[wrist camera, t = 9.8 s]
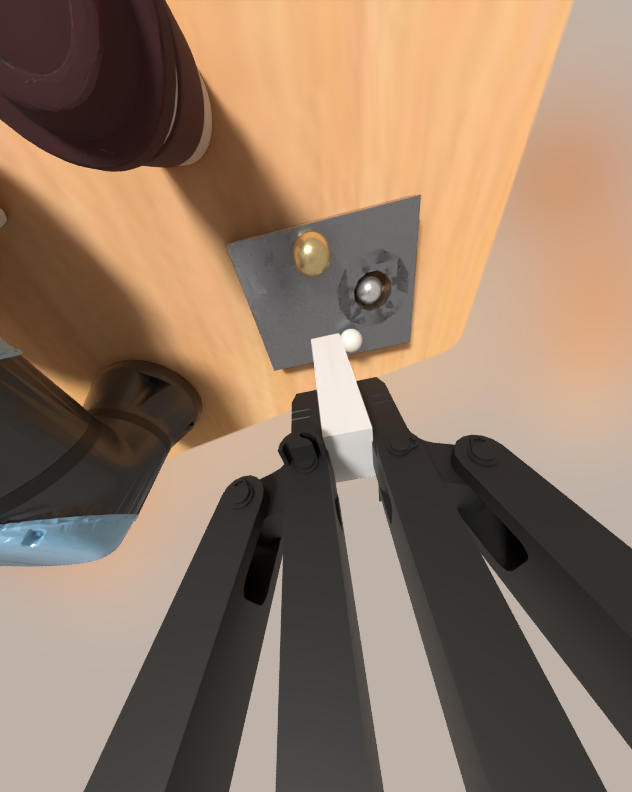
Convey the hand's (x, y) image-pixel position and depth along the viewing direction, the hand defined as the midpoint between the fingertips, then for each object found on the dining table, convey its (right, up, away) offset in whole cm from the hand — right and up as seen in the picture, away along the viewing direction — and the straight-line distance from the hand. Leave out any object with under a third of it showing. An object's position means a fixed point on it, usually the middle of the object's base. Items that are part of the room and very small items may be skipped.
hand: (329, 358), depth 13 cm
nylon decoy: (+4, +5, +17) cm, 19 cm away
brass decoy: (-1, +12, +11) cm, 16 cm away
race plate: (+1, +11, +17) cm, 21 cm away
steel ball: (+6, +11, +16) cm, 20 cm away
